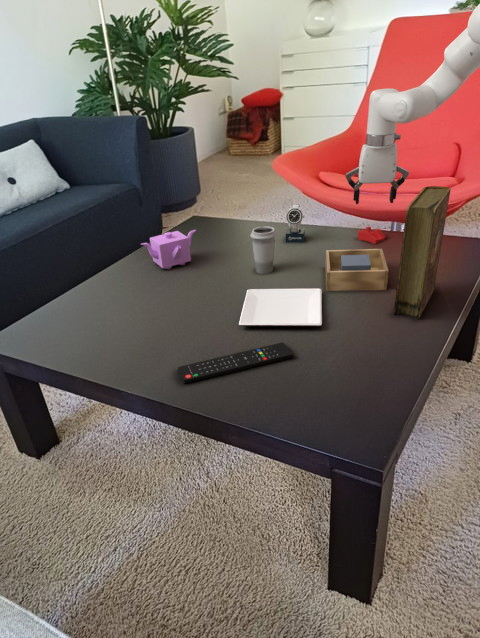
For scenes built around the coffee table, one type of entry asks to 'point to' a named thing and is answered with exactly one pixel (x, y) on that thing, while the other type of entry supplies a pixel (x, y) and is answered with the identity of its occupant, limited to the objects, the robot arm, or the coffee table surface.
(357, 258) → the grey block
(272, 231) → the cup
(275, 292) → the plate
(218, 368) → the remote control
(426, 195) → the book
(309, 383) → the coffee table surface
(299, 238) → the watch
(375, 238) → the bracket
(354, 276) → the crate
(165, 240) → the teapot
